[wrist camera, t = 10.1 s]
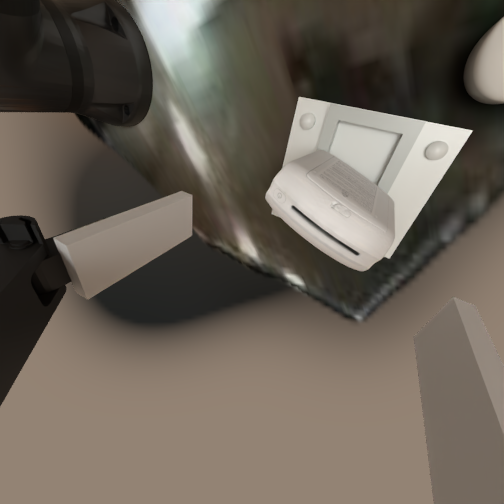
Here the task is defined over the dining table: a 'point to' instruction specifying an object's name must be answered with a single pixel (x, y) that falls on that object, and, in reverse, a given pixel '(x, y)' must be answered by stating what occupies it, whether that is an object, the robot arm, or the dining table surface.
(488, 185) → the dining table surface
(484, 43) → the white rounded cylinder
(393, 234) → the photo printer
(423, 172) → the dock plate
